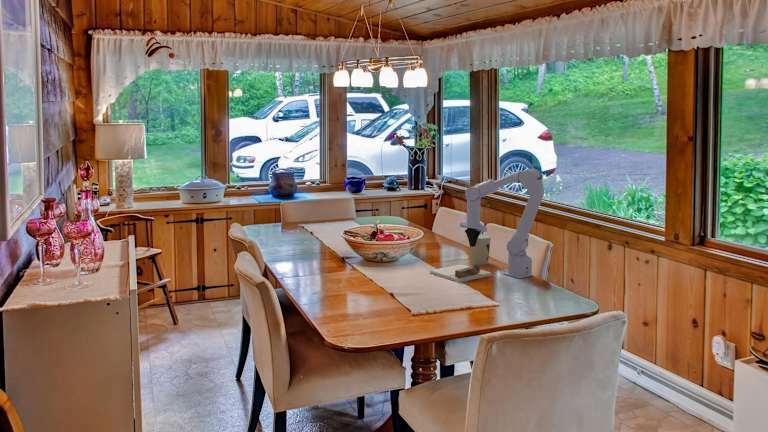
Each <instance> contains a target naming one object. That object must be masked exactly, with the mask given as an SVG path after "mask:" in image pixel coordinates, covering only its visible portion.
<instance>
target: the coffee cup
mask: <svg viewBox="0 0 768 432" xmlns="http://www.w3.org/2000/svg"><path fill="white" fill-rule="evenodd" d="M490 248H491V236H490V235H487V234H480V235H479V237H478V239H477V242H476V246H474V247H471V246H470V245H469V258H470V259H469V260H470V261H469V262H470V265H471V264H472V265H473V266H474V265H476V266H485V265H488V264H489V259H490V257H489V256H490Z"/></svg>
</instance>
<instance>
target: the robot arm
mask: <svg viewBox="0 0 768 432" xmlns="http://www.w3.org/2000/svg"><path fill="white" fill-rule="evenodd" d="M543 179H544V177H543V175H542V174H541V172H540V170H538V169H537V168H529V169H525V170H520V171H516V172H512V173H510V174H508V175H505V176H503V177H501V178H498V179H497V180H495V179H492V178H490V179H489V178H486V179H485V180H484V181H482V182H481V183H475V185H473V186H469V187H467V189H466V190H465V192H464V196H465V199H466V222H463V221H462V222H461V221H460V222H459V228H465V230H464V233H465V234H466V236H467V240H468V244H469V247H470V246H471V247H474V246H476V242H477V239H478V237H479V235H481V233H487V232H488V227H487V226H484V225H482V224H481V201H482V198H485V197H487V196H490V195H492V194H495V193H496V192H498V189H499V188H501V187H503V186H507V185H510V184H513V183H516V184H521V185H522V187H523V188H525V189H526V191H527V192H528V194H529V196H528V200H527V202H526V205H525V207H524V210H523V212H522V215H521V218H520V220H519V223H518V225H517V228H516V231H515V232H514V233H513V235H512V237H511V239H510V240H509V241H507V243H506V249H507V254H508V255H507V256H508V257H507V271H505V272H503V273H502V274H503V275H506V276H510V277H514V278H516V279H523V278H528V277H533V276H534V275H533V274H532V270H533V265H532V264H533V260H532V258H531V257H530V256H529V255H527V249H528V247H529V238H530V231H531V229H532V226H533V223H534V221H535V219H536V216H537V213H538V210H539V209H540V206H541V203H542V200H543V198H544V196H545V189H544V183H543Z"/></svg>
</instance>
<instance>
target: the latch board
mask: <svg viewBox="0 0 768 432" xmlns="http://www.w3.org/2000/svg"><path fill="white" fill-rule="evenodd" d="M468 267H470V265H464V264H457V265H451V266H445V267H440V268H435V269H430V270H429V271H428V272H430V273H429V274H431V273H433V274H432V275H434V274H436V275H435V276H437V275H439V276H438V277H440V276H442V277H441V278H443V277H445V278H444V279H446V278H448V279H447V280H450V279H451V281H453V280H454V281H453V282H456V281H457V282H456V283H461V282H467V281H472V280H478V279H481V278H486V277H491V276H492V272H489V271H487V270H484V269H483V270H482V269H480V273H476V274H472V275H468V276H464V277H460V278H459V277H455V271H456V270H460V269H464V268H468Z"/></svg>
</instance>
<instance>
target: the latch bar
mask: <svg viewBox="0 0 768 432" xmlns="http://www.w3.org/2000/svg"><path fill="white" fill-rule="evenodd" d="M480 270H481V268H480V266H479V265H474V264H473V265H472V266H469V267H468V268H464V269H460V270H456V271H455V277H459V278H460V277H464V276H468V275H472V274H476V273H480Z"/></svg>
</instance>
